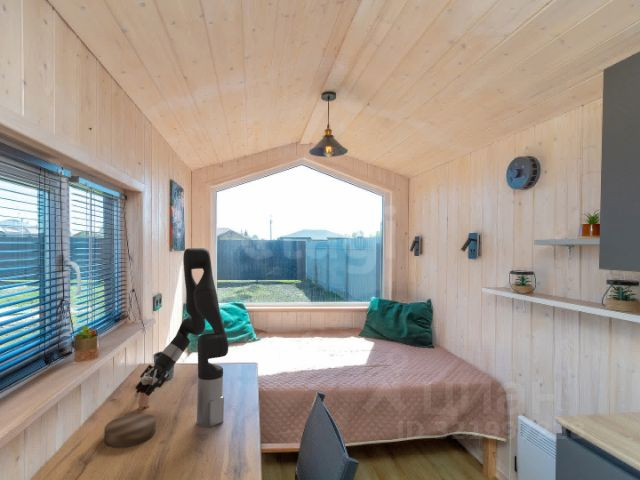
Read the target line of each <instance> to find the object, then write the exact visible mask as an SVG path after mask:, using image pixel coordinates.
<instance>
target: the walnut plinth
mask: <svg viewBox="0 0 640 480" xmlns="http://www.w3.org/2000/svg"><path fill="white" fill-rule="evenodd" d="M156 425H157V419H156V416H154V415H152V414H150V413H144V412H143V413H141V412H140V413H138V412H137V413H131V414H125V415H123V416H119V417H116V418H114V419H112V420H111V421H109V422H108V423H106V425H105V426H104V430H103V431H104V432H103V433H104V435H103V437H104V438H103V443H104V445H106V446H107V447H111V448H114V449H123V448H124V449H126V448H131V447H135V446H138V445H141V444H143V442H144V443H146V442H147V441H149V440H151V439H152V438H153V437H154V436H155V434H156ZM145 441H146V442H145Z"/></svg>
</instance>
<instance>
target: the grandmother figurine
mask: <svg viewBox="0 0 640 480" xmlns="http://www.w3.org/2000/svg"><path fill="white" fill-rule="evenodd" d="M140 381H141V382H142V384H143V385H141V386H140V387H139V388H138V390H137V389H136V391H135V393H134V397H136V398H137V396H138V395H139V396H138V397H139V399H138V407H137V410H140V411H141V410H144V408H145V409H148V408H150V405H149V404H150V395H149V396H147V395H146V394H145V392H146V390H147V389H148V388H149V386H150V385H151V384H149V383H150V381H151V380H150V379H149V377H147V376H145V375H144V377H143V378H142V379H141V378H140ZM154 392H156V390H155V389H154V390H153V392H152V393H154ZM139 393H140V394H139Z"/></svg>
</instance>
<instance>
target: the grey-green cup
mask: <svg viewBox="0 0 640 480" xmlns="http://www.w3.org/2000/svg"><path fill="white" fill-rule="evenodd" d="M161 353H162V351H158V352H155V353H154V354H153V356H152V357H153V366H154V365H155V364H156V363H155V360H156V359H157V358H158V356H159V355H160V354H161ZM166 372H167V373H168V374H169V377H168V378H167V379H166V381H168V380H169V381H170V380H171V378H172V379H173V378H174V372H175V365H174V366H173V367H172V368H171V370H170V371H166Z"/></svg>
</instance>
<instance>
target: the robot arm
mask: <svg viewBox="0 0 640 480" xmlns="http://www.w3.org/2000/svg"><path fill="white" fill-rule="evenodd" d="M182 257H183V259H182V260H183V263H182V264H183V272H184V283H185V284H184V285H185V293H186V294H185V297H186V298H185V312H186V314H187V315H189V316H187V317H186V318H185V319H184V320H183V321H182V322H181V324H180V326H179V329H178V330H177V332H176V334H175V336H174V337H173V338H172V340H171V341H170V342H169V344H168V345H166V347H165V348H164V349H163V350H162V351H161V352H162V353H161V354H160V355H159V356H158V358H157V359H156V360H155V363H156V364H155V365H154V364H153V365H152V364H148V365H147V367H146V368H145V369H144V371H142V373H141V374H140V376H139V378H140V380H139V382H138V383H137V385H136V386H135V387H134V388H135V389H136V391H137V390H138V388H139V387H140V386H141V385H143V384H142V382H141V379H142V378H143V377H144V376H147V377H149V379H150V381H152V382H151V384H150V386H149V388H148V389H147V390H146V392H145V394H146V395H147V396H149V397H150V396H151V394H152V393H154V392H153V390H155V389H157V388H162V386H163V385H164V383H165V382H166V381H167V380H166V379H167V378H168V377H169V374H168V373H167V372H166V371H170V370H171V368H172V367H173V366H174V367H175V364H177V362H178V360H179V359H180V358H181V356H182V354H183V353H184V352H185V351H186V349H187V348H188V346H189V345H190V343H191V341H190V339H189V335H190V334H191V335H194V336H199V337H198V339H197V396H196V397H197V401H196V424H197V425H198V426H199V427H206V428H213V427H215V426H217V425H220V424H221V423H224V416H225V415H224V413H225V412H224V411H225V410H224V407H225V397H224V396H223V389H224V384H223V383H224V368H223V366H221V365H220V364H219V365H218V364H214V363H211V362H209V360H211V359H217V358H223V357H225V356H227V355H228V353H229V339H228V337H227V333H226V330H225V326H224V323H223V320H222V316H221V310H220V305H219V298H218V294H217V290H216V289H217V288H216V286H215V285H216V284H215V281H214V277H213V269H212V261H211V254H210V251H209V250H208V248H205V247H204V248H203V247H198V248H197V247H195V248H192V247H191V248H186V249H184V251H183V255H182ZM198 269H199V270H200V269H202V270H203V272H202V276H201V277H200V279H199V281H198V283H197V282H196V281H195V279H194V276H193V273H192V272H193V271H192V270H198ZM206 322H207V323H208V324H209V325H210V326H211V328H212V331H213V333H212V332H211V333H206V334H205V333H204V331H205V329H206ZM203 333H204V334H203Z"/></svg>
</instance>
